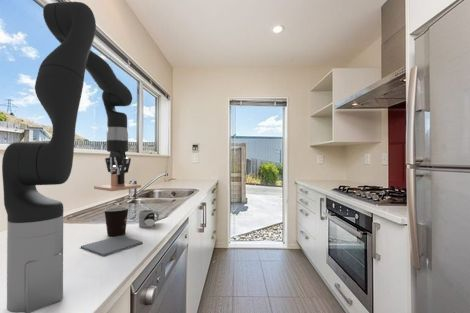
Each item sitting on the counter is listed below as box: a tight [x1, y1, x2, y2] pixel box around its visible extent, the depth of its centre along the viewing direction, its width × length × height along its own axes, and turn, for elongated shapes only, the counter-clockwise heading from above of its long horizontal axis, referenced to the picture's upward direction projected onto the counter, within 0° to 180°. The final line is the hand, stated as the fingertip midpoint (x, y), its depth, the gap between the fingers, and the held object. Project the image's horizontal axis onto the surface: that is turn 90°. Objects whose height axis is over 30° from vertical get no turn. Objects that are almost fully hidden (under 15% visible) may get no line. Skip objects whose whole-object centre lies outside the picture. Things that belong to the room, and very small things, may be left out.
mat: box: [80, 235, 144, 257], centre depth 86 cm, size 14×14×1 cm
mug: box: [138, 209, 160, 229], centre depth 114 cm, size 10×7×7 cm, turn 148°
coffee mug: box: [104, 206, 129, 238], centre depth 101 cm, size 12×9×10 cm
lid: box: [93, 173, 142, 192], centre depth 98 cm, size 12×12×6 cm
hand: (117, 183), depth 98 cm, fingers closed on lid, 3 cm apart
